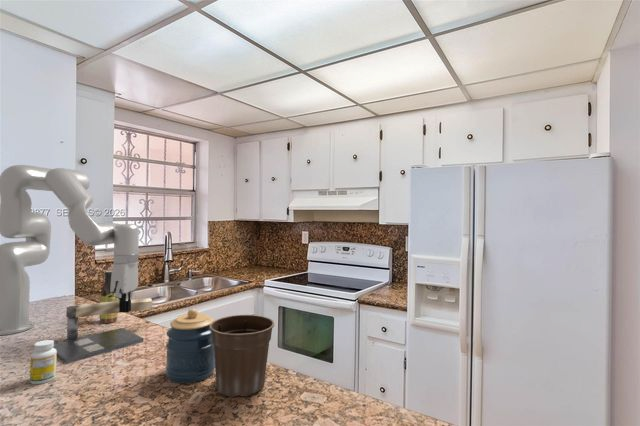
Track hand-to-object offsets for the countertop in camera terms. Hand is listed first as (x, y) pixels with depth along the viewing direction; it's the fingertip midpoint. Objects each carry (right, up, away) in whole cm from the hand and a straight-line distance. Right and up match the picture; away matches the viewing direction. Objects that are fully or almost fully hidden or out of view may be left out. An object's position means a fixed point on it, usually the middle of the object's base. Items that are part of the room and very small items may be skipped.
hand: (125, 311), depth 121 cm
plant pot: (+48, -10, -32) cm, 58 cm away
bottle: (-15, -9, +16) cm, 23 cm away
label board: (-7, -9, -7) cm, 13 cm away
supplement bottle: (-4, -9, -31) cm, 33 cm away
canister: (+33, -10, -26) cm, 43 cm away
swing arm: (-6, -1, +2) cm, 6 cm away
